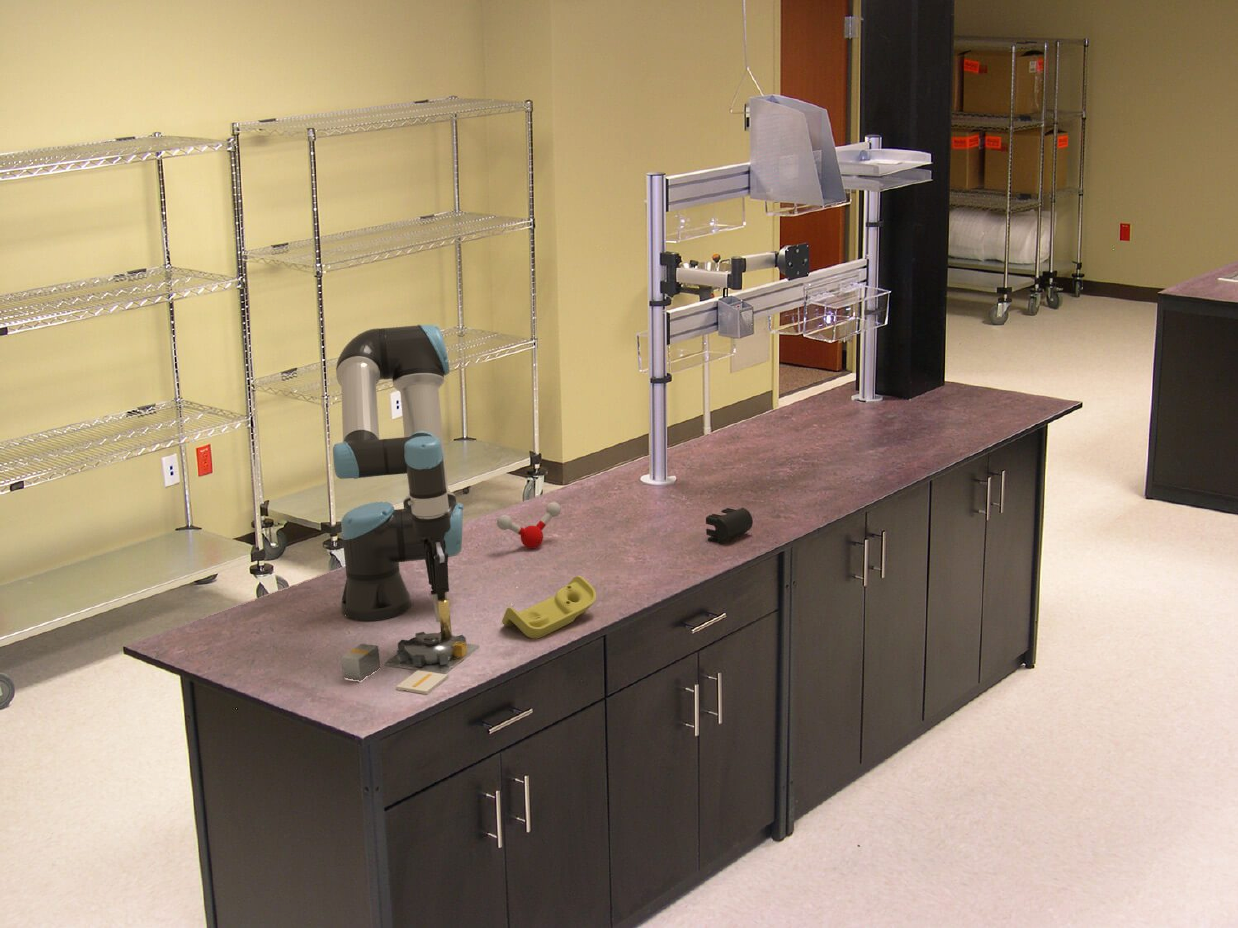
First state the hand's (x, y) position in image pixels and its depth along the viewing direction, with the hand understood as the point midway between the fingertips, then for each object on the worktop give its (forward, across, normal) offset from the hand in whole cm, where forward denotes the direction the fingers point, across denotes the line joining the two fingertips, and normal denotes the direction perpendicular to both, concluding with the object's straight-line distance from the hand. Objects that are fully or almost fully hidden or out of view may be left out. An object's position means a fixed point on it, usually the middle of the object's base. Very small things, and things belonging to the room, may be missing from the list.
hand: (442, 620), depth 306 cm
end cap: (+8, -31, +79) cm, 85 cm away
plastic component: (+6, 0, +24) cm, 24 cm away
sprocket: (+5, +6, -4) cm, 9 cm away
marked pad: (+5, +18, -9) cm, 20 cm away
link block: (+5, +8, -19) cm, 21 cm away
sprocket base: (+5, +6, -4) cm, 9 cm away
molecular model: (+7, -48, +34) cm, 59 cm away
